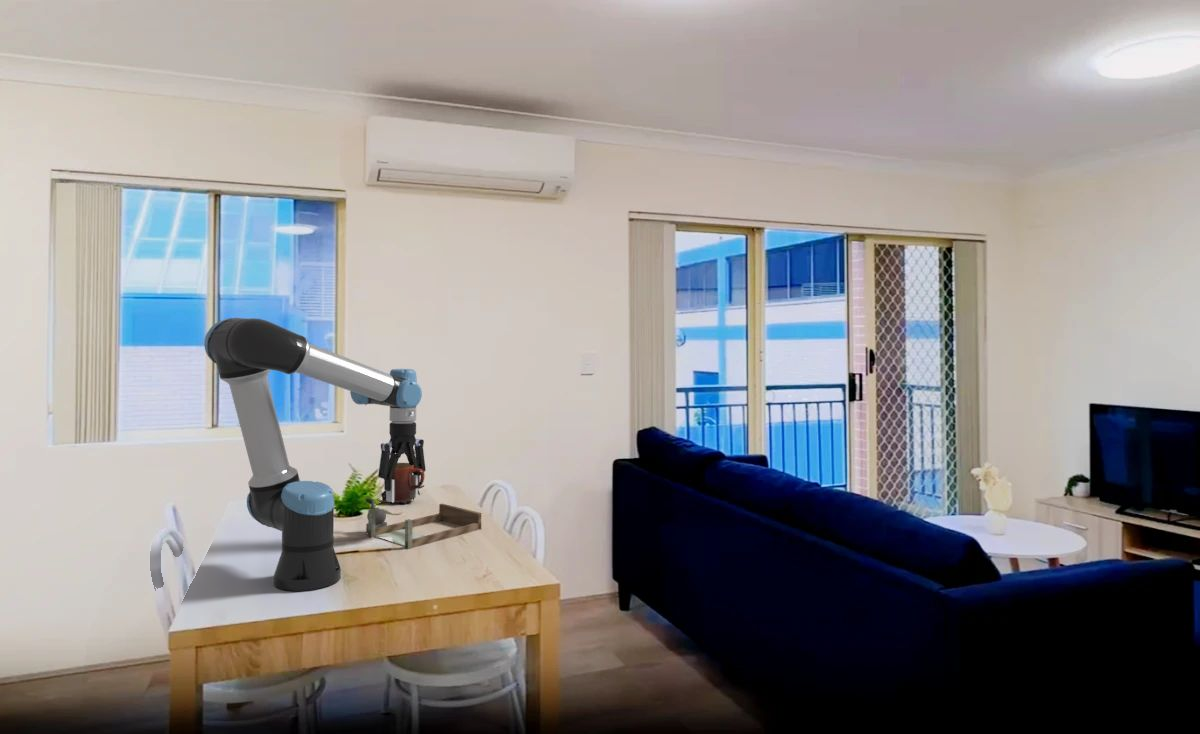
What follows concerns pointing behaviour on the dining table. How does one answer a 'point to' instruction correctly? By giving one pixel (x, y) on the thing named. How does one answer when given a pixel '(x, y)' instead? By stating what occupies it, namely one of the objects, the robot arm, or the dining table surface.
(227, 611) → the dining table surface
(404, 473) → the mug
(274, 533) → the dining table surface
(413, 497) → the fruit
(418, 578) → the dining table surface
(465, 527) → the tray
